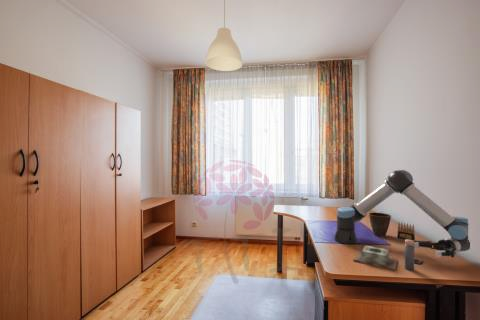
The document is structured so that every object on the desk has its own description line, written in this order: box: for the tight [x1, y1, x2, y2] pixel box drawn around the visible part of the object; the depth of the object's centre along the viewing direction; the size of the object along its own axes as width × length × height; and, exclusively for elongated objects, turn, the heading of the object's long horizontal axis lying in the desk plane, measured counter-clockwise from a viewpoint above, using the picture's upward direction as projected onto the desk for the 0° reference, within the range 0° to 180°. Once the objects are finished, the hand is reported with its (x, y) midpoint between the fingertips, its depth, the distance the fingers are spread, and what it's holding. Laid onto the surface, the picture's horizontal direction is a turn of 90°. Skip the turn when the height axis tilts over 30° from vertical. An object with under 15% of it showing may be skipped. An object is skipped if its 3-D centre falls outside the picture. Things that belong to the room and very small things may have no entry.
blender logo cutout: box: [414, 258, 424, 265], centre depth 139 cm, size 9×8×1 cm
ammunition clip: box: [397, 221, 416, 241], centre depth 179 cm, size 11×2×12 cm, turn 41°
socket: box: [352, 245, 398, 271], centre depth 138 cm, size 20×16×6 cm
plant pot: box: [368, 212, 392, 237], centre depth 189 cm, size 15×15×16 cm
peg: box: [404, 239, 415, 272], centre depth 128 cm, size 4×4×15 cm
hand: (422, 249), depth 131 cm, fingers open, 13 cm apart
